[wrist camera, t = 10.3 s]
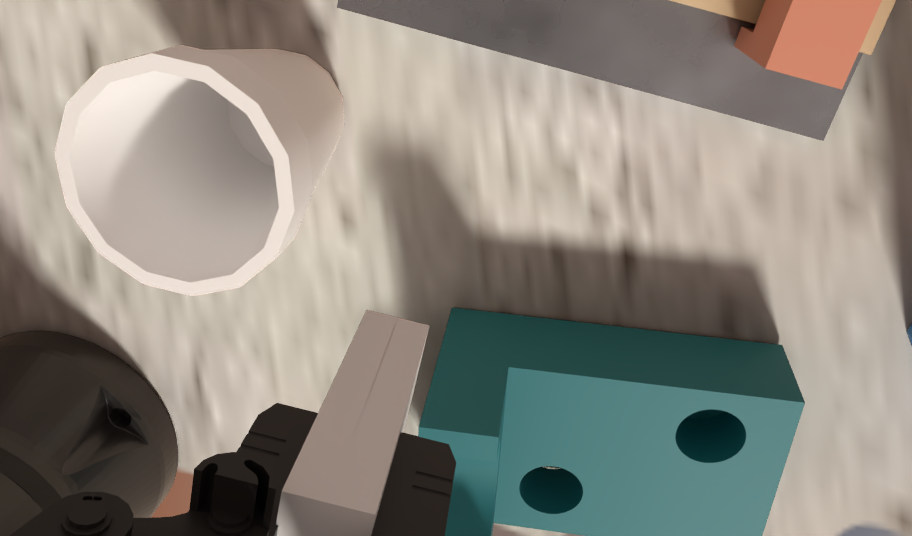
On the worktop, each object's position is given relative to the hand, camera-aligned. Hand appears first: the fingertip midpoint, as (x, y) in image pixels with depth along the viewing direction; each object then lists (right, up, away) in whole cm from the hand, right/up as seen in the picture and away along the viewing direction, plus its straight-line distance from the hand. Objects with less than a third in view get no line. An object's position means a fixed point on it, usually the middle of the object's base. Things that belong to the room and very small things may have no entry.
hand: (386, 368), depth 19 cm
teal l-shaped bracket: (+10, -6, +28) cm, 30 cm away
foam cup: (-7, +11, +23) cm, 27 cm away
